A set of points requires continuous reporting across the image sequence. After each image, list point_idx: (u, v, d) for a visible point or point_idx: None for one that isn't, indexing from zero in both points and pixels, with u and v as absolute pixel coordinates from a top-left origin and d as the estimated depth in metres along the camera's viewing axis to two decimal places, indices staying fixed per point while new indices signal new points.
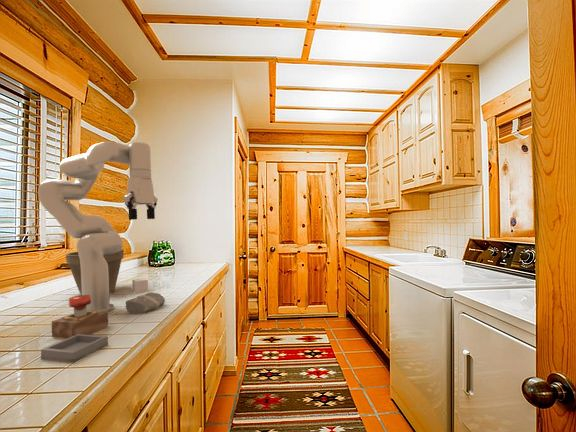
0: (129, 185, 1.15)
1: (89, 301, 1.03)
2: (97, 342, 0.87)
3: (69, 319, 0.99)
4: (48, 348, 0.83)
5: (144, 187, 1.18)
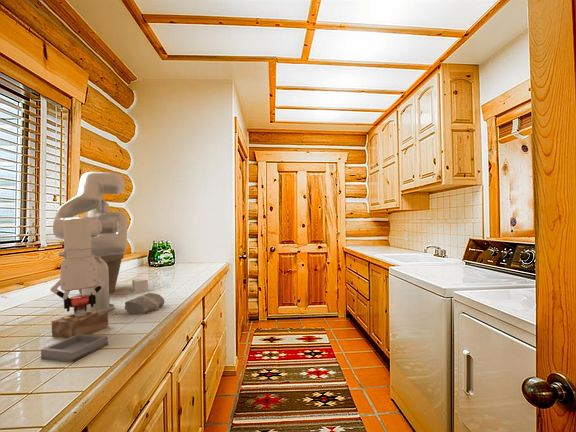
0: (96, 265, 1.04)
1: (89, 301, 1.03)
2: (97, 342, 0.87)
3: (69, 319, 0.99)
4: (48, 348, 0.83)
5: None
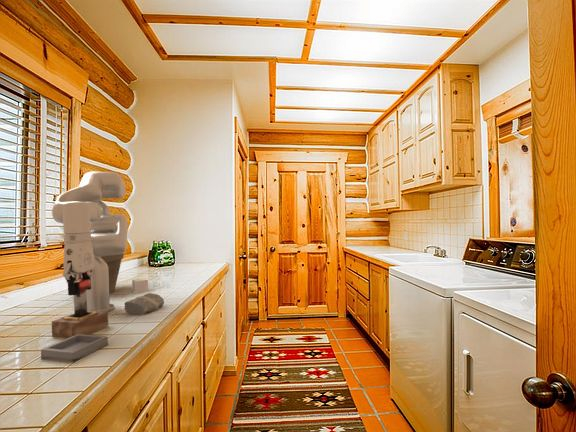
0: None
1: None
2: (97, 342, 0.87)
3: (69, 319, 0.99)
4: (48, 348, 0.83)
5: None
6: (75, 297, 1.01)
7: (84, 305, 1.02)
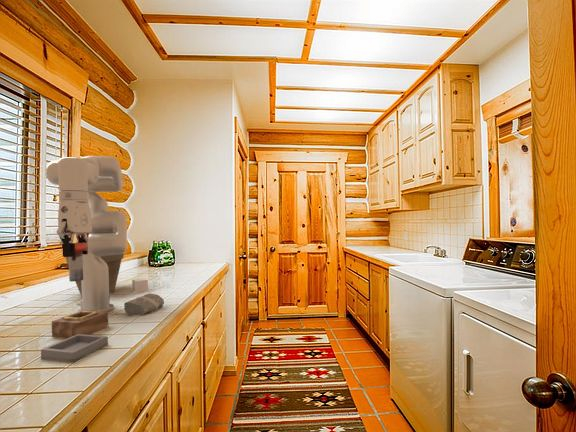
0: None
1: None
2: (97, 342, 0.87)
3: (69, 319, 0.99)
4: (48, 348, 0.83)
5: None
6: (70, 260, 0.94)
7: (80, 269, 0.95)
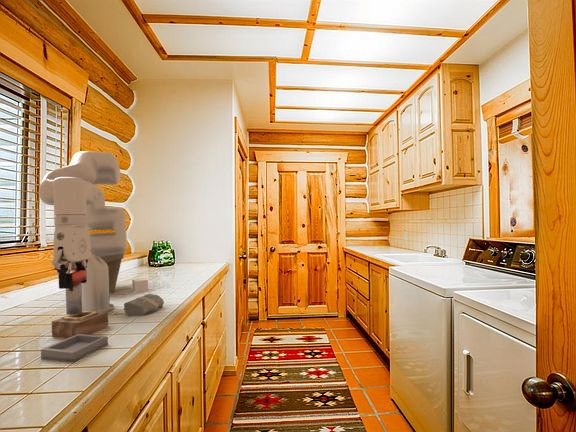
0: None
1: None
2: (97, 342, 0.87)
3: (69, 319, 0.99)
4: (48, 348, 0.83)
5: None
6: (67, 291, 0.85)
7: (78, 301, 0.86)
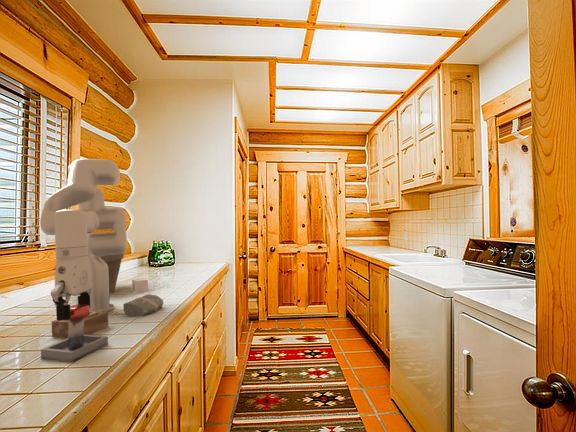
0: None
1: None
2: (97, 342, 0.87)
3: None
4: (48, 348, 0.83)
5: None
6: (70, 327, 0.85)
7: (80, 337, 0.86)
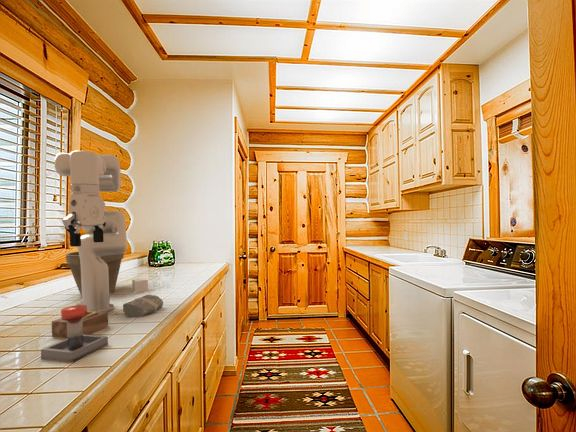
0: None
1: None
2: (97, 342, 0.87)
3: None
4: (48, 348, 0.83)
5: None
6: (69, 328, 0.85)
7: (80, 337, 0.86)
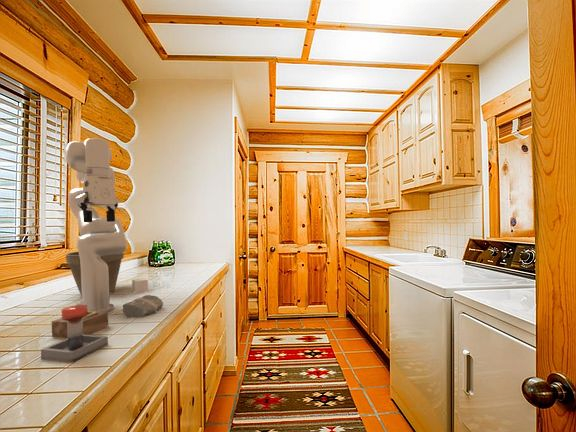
0: None
1: None
2: (97, 342, 0.87)
3: None
4: (48, 348, 0.83)
5: None
6: (69, 328, 0.85)
7: (80, 337, 0.86)
